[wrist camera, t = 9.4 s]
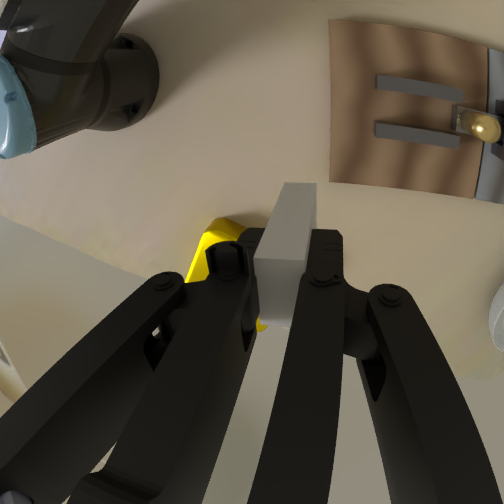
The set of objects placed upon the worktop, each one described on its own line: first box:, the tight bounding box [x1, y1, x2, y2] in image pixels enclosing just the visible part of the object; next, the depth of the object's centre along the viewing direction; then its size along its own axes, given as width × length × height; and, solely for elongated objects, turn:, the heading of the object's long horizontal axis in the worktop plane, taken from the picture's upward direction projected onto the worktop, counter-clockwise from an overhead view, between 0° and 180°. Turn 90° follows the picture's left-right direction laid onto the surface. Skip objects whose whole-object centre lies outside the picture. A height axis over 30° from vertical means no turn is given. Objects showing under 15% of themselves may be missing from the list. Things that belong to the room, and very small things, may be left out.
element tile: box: [185, 218, 268, 332], centre depth 49 cm, size 15×15×5 cm
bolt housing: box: [373, 75, 504, 161], centre depth 27 cm, size 22×7×4 cm, turn 93°
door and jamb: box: [329, 20, 504, 204], centre depth 30 cm, size 28×20×2 cm
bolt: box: [450, 104, 504, 143], centre depth 25 cm, size 10×3×7 cm, turn 93°
